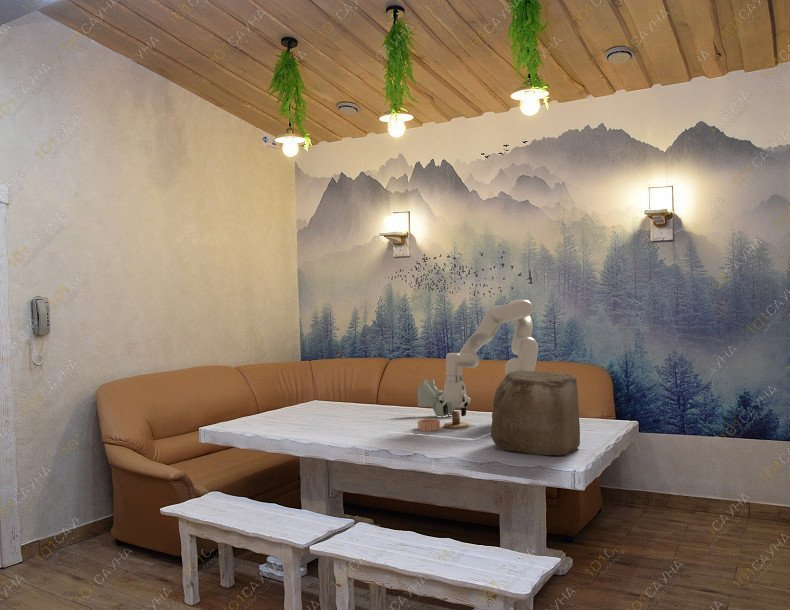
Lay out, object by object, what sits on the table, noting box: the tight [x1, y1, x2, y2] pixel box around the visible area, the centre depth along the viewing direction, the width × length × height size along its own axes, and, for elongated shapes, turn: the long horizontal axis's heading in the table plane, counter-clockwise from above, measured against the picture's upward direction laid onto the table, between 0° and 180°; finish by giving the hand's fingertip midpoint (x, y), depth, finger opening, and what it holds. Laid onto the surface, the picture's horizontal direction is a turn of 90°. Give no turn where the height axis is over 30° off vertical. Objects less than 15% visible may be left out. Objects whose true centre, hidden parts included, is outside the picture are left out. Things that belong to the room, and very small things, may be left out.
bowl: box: [417, 418, 441, 432], centre depth 300 cm, size 10×10×4 cm
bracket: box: [416, 378, 468, 417], centre depth 338 cm, size 28×7×20 cm, turn 67°
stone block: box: [490, 370, 581, 456], centre depth 254 cm, size 35×25×30 cm
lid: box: [443, 410, 470, 430], centre depth 303 cm, size 12×12×7 cm
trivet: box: [439, 424, 477, 431], centre depth 303 cm, size 14×14×1 cm
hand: (454, 415), depth 303 cm, fingers open, 9 cm apart
